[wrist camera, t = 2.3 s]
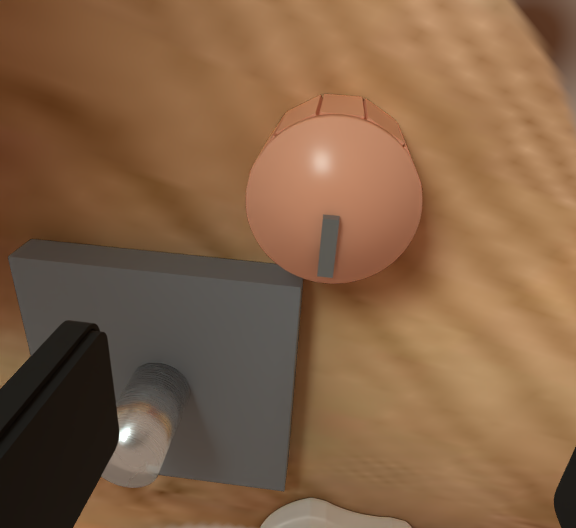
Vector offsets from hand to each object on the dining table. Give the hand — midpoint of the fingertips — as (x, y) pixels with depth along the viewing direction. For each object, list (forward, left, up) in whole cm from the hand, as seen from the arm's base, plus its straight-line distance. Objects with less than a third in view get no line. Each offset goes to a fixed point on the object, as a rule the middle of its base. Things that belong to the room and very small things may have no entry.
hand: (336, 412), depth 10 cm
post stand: (+12, -8, -14) cm, 20 cm away
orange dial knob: (0, 0, -14) cm, 14 cm away
